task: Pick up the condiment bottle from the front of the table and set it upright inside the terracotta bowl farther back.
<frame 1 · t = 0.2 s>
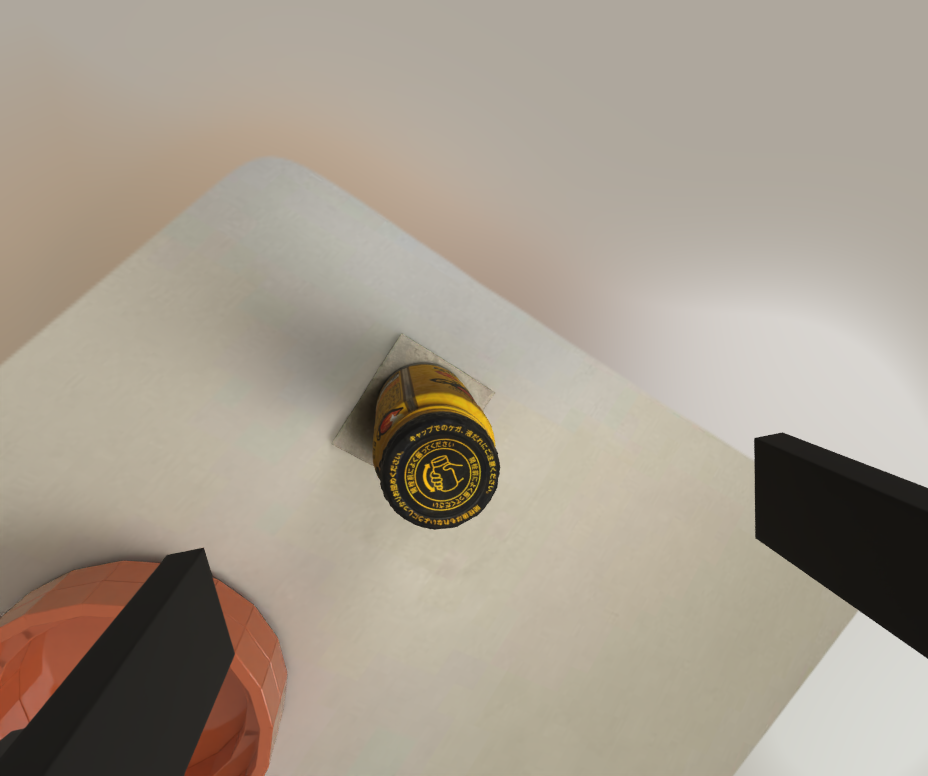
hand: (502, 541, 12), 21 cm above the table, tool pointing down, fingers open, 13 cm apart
bowl: (146, 680, 34), on the table
condiment: (414, 416, 33), on the table
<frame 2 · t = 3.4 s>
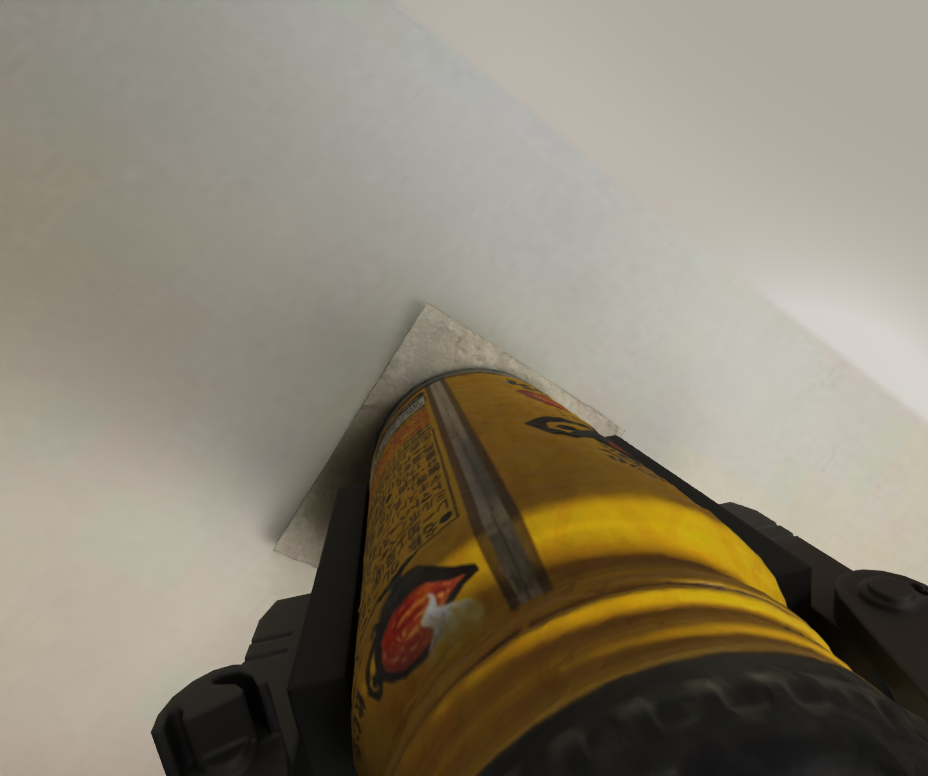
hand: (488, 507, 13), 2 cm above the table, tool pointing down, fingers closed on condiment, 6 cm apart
condiment: (453, 482, 15), on the table, touching gripper
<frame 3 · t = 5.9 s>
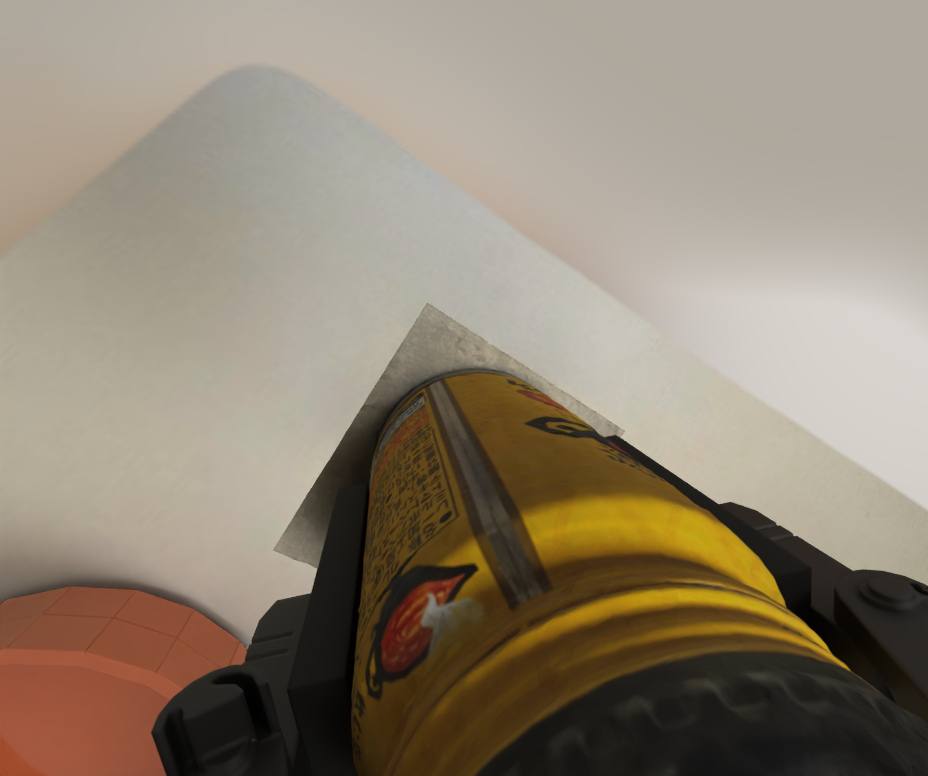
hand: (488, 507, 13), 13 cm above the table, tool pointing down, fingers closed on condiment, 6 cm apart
bowl: (104, 734, 27), on the table
condiment: (452, 482, 15), point 11 cm above the table, touching gripper
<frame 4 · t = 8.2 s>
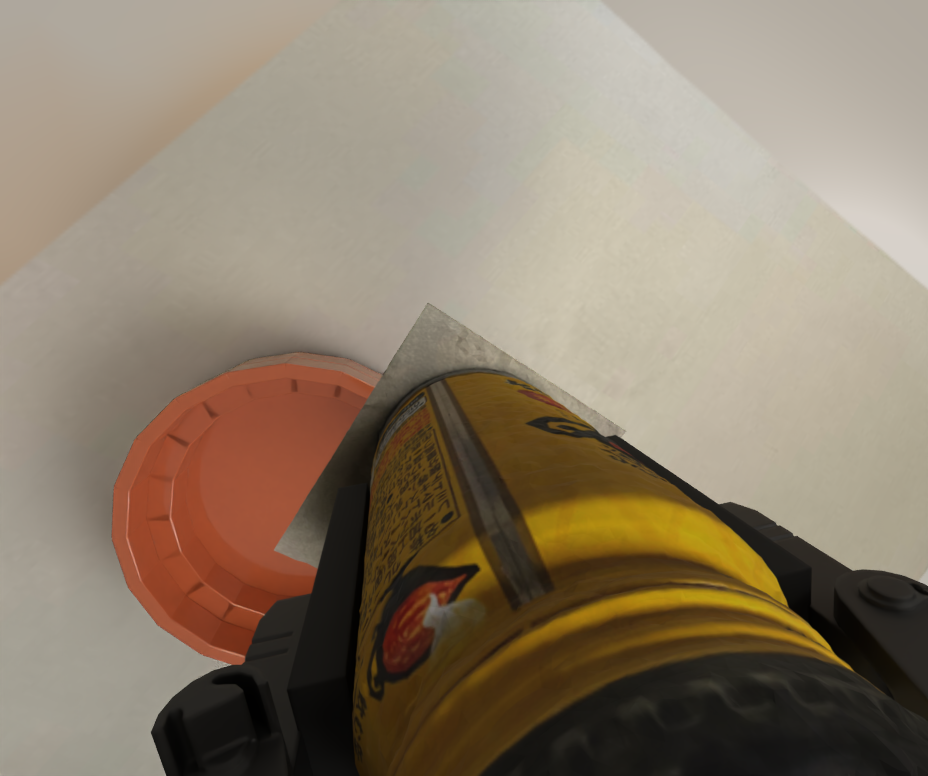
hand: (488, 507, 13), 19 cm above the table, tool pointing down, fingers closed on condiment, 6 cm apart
bowl: (308, 492, 32), on the table
condiment: (453, 482, 15), point 17 cm above the table, touching gripper
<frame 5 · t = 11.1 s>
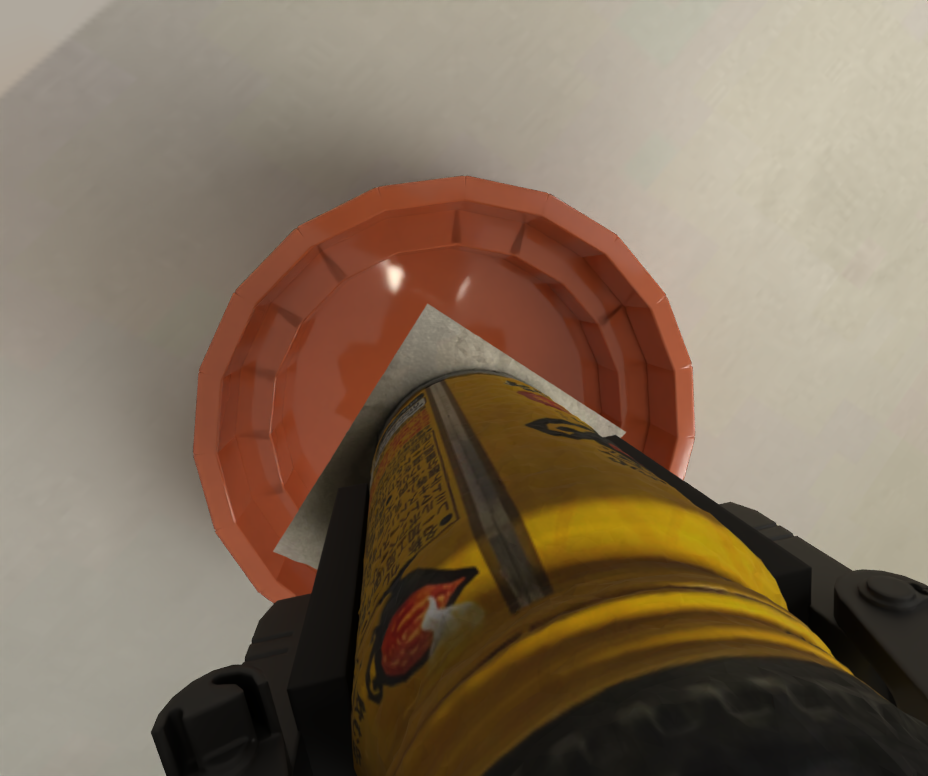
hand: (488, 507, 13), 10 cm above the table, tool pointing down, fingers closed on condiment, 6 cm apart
bowl: (447, 411, 23), on the table
condiment: (453, 483, 15), point 8 cm above the table, touching gripper
when the fingers open (2 cm above the table, at t = 13.3 s): condiment stays where it is, resting on bowl.
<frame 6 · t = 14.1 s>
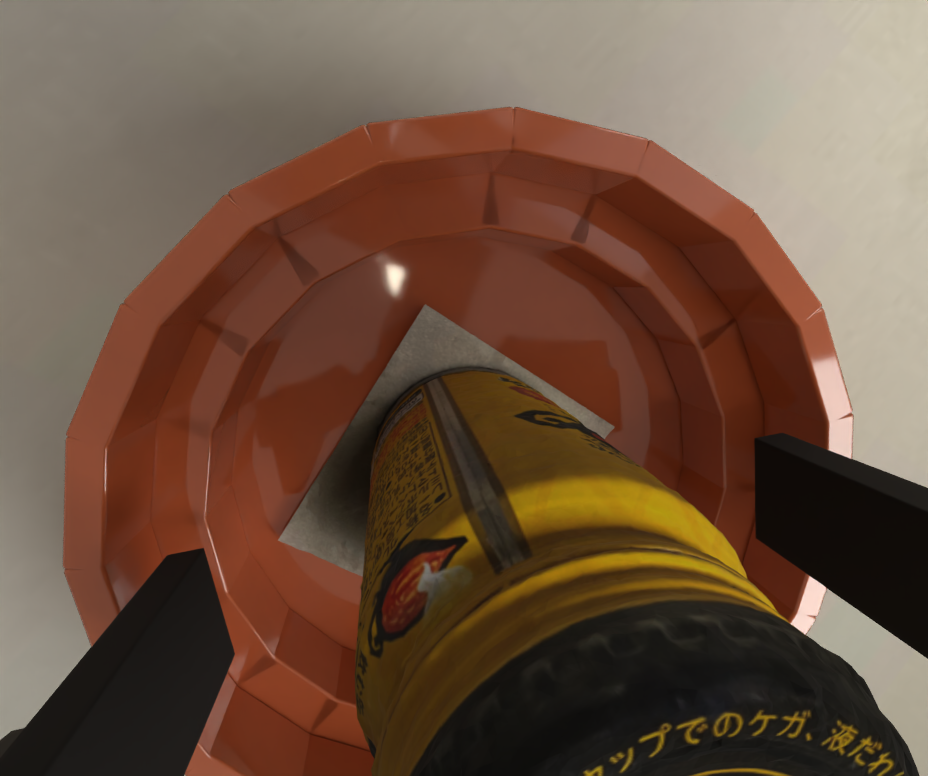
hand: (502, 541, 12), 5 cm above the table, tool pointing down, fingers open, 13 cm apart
bowl: (469, 466, 17), on the table
condiment: (449, 475, 16), resting on bowl
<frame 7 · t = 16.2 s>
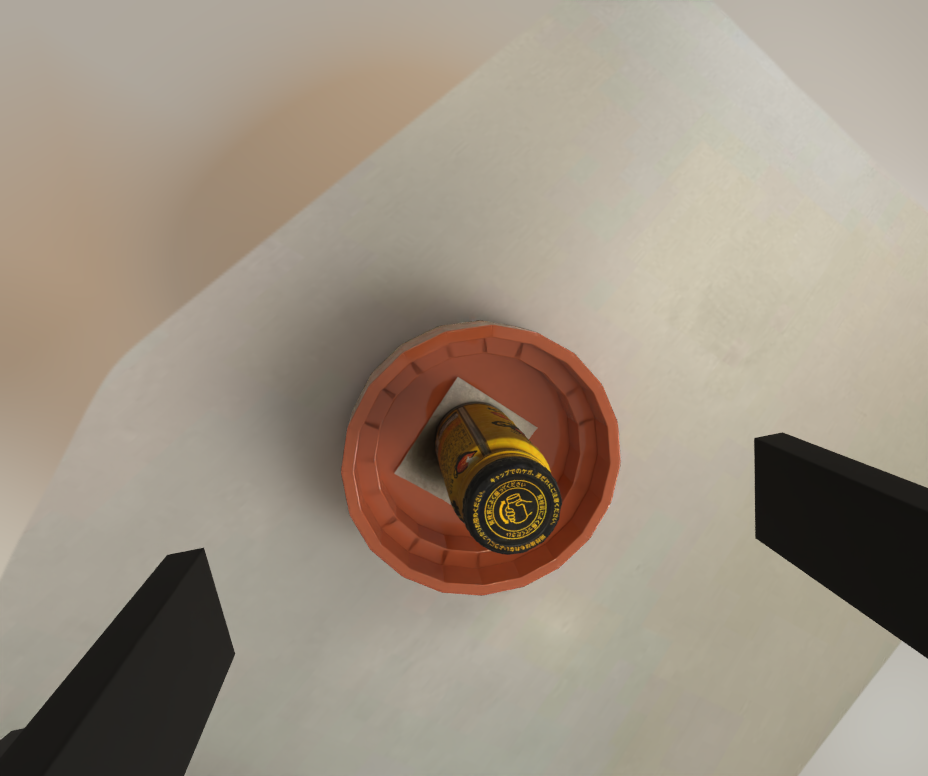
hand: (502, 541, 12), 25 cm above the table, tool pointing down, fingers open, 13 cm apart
bowl: (474, 444, 37), on the table
condiment: (466, 448, 37), resting on bowl
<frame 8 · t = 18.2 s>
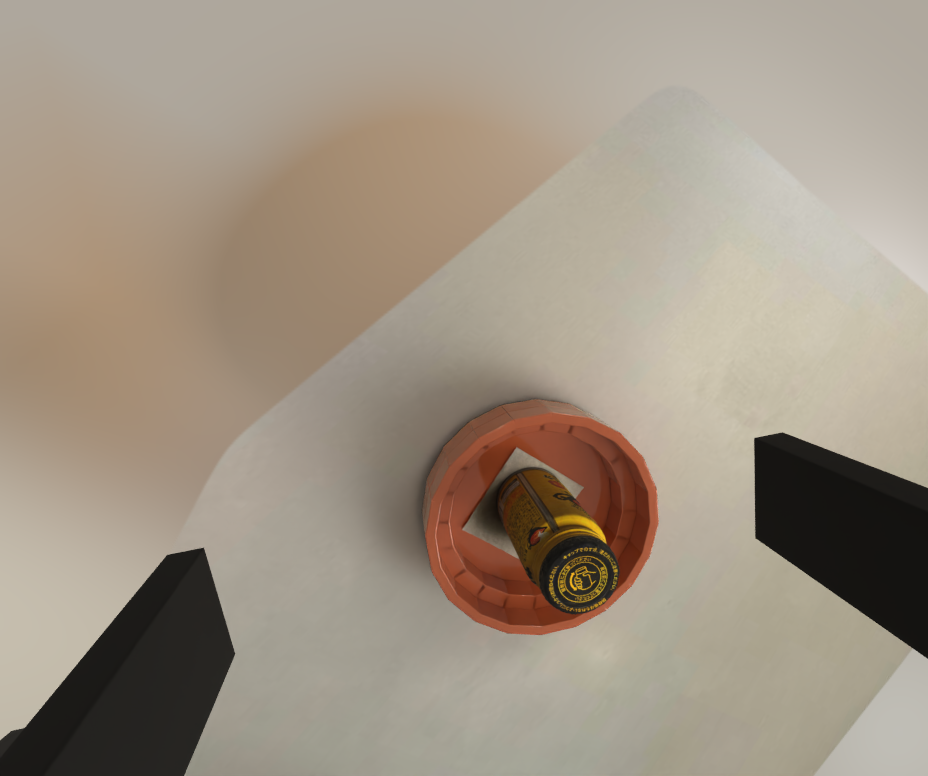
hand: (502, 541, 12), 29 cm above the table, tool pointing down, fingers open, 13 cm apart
bowl: (528, 501, 43), on the table
condiment: (522, 505, 43), resting on bowl
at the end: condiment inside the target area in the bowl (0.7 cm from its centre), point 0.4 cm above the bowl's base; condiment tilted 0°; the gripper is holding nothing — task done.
